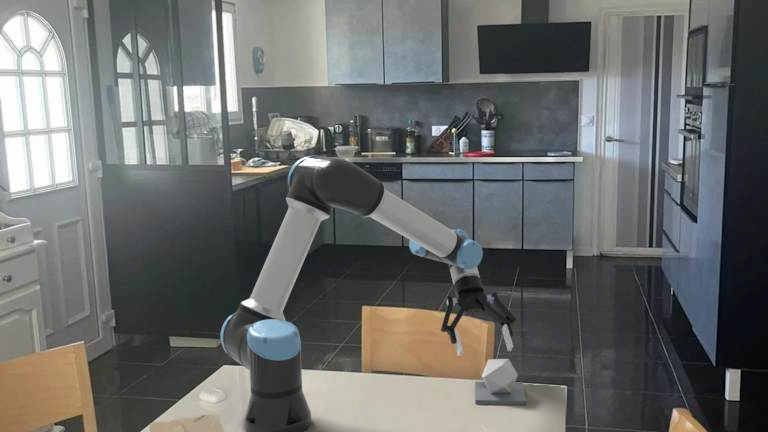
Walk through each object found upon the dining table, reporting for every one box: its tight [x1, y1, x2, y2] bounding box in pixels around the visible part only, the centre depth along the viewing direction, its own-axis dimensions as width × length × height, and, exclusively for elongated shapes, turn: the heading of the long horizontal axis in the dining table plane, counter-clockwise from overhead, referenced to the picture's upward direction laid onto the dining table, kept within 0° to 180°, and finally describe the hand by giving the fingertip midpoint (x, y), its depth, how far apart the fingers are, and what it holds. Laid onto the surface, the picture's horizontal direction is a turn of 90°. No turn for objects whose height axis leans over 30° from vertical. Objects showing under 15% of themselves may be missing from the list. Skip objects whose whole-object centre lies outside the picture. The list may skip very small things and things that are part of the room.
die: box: [480, 358, 519, 393], centre depth 192 cm, size 8×9×10 cm
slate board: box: [474, 380, 527, 406], centre depth 193 cm, size 12×12×1 cm
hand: (485, 351), depth 201 cm, fingers open, 13 cm apart
